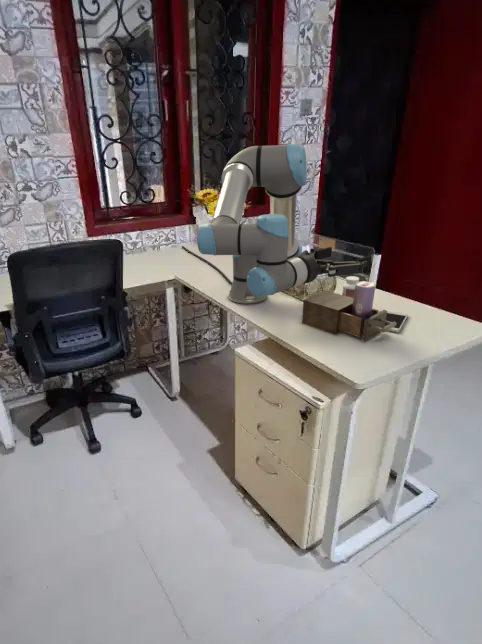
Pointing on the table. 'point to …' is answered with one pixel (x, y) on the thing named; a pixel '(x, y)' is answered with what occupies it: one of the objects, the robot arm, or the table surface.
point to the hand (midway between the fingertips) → (349, 255)
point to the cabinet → (325, 310)
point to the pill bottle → (350, 286)
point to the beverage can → (363, 300)
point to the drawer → (371, 324)
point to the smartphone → (395, 320)
